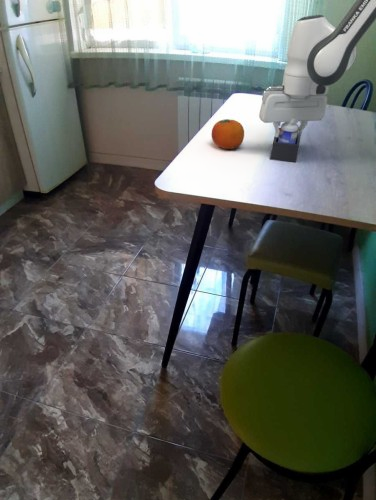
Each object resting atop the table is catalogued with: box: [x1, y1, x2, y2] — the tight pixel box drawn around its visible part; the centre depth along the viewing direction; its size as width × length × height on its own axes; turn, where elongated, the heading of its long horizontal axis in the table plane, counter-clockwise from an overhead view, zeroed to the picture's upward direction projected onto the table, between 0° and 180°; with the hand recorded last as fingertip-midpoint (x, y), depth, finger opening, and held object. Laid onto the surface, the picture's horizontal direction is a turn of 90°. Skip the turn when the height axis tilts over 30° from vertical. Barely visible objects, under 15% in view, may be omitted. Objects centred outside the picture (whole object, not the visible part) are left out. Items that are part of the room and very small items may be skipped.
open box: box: [269, 127, 301, 164], centre depth 133 cm, size 8×15×5 cm, turn 167°
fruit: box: [211, 118, 245, 150], centre depth 133 cm, size 11×10×8 cm
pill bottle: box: [278, 119, 299, 144], centre depth 127 cm, size 5×5×10 cm
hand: (287, 136), depth 128 cm, fingers closed on pill bottle, 5 cm apart
